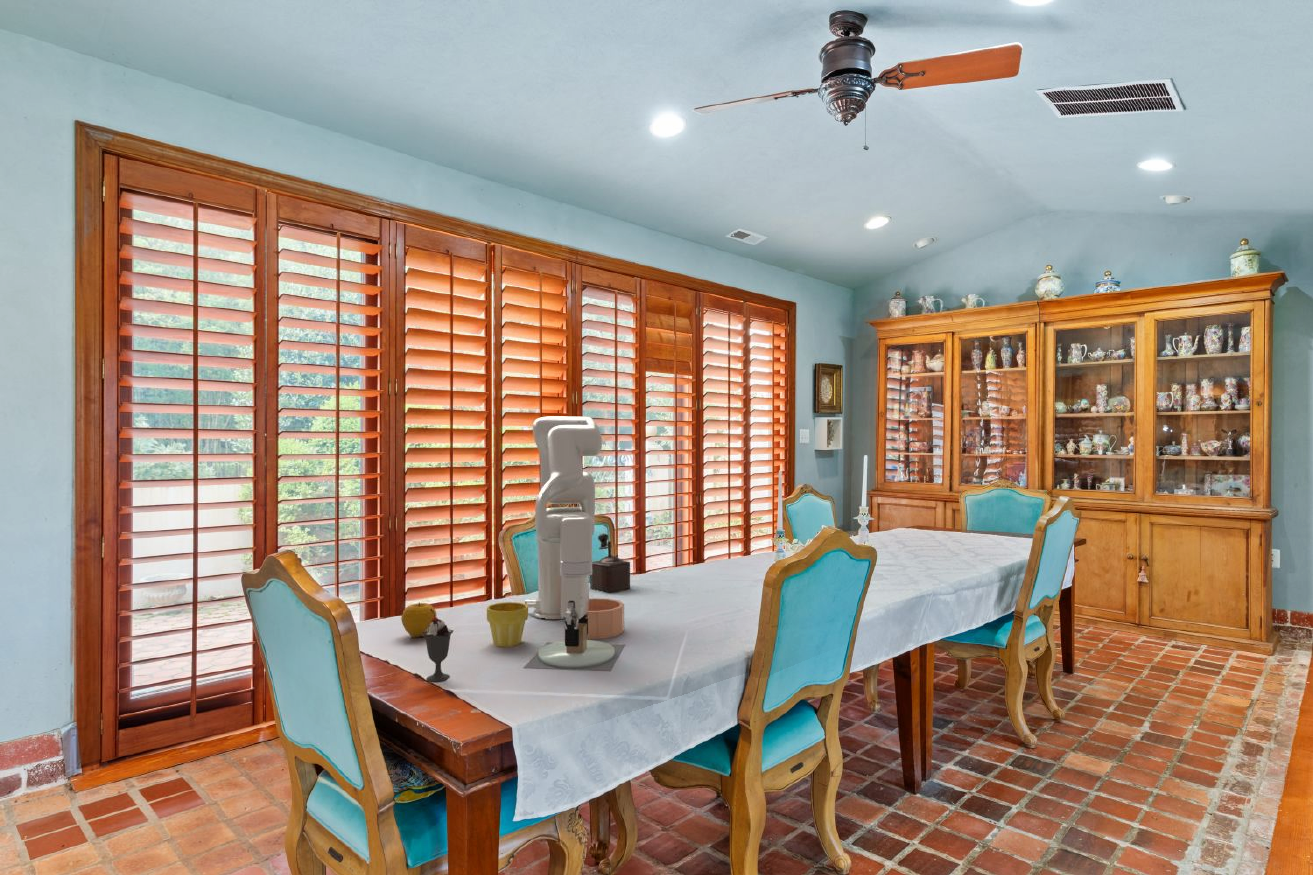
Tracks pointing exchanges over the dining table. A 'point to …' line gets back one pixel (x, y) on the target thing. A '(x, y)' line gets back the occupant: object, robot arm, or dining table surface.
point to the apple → (417, 618)
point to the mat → (607, 666)
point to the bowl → (605, 618)
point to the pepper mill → (609, 571)
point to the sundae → (437, 646)
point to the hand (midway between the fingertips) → (576, 640)
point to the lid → (577, 652)
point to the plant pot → (507, 622)
